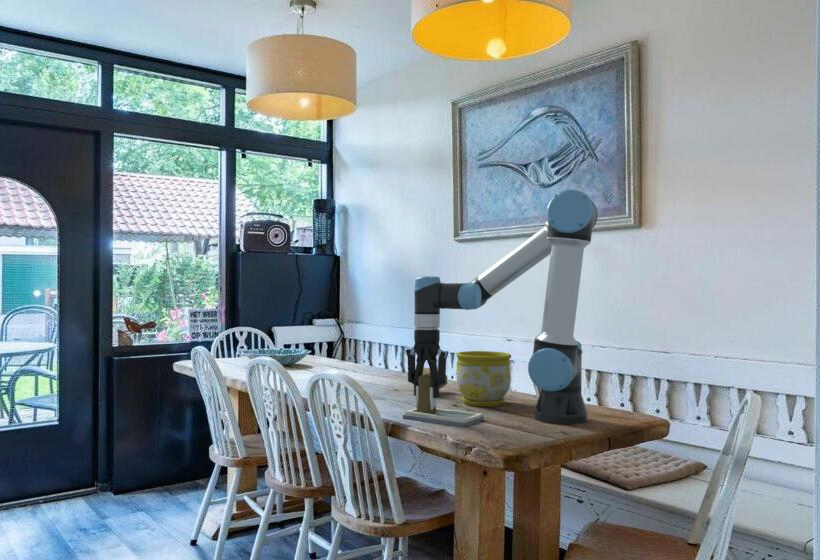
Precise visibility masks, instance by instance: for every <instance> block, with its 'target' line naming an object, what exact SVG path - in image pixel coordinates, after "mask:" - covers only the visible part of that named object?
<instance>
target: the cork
mask: <svg viewBox="0 0 820 560" xmlns="http://www.w3.org/2000/svg"><path fill="white" fill-rule="evenodd" d="M418 384H419V386H420V388H419V395H418V402H417V409H416V412H420V413H428V414H435V413H436V408H435V406H434V408H433V410H431V404H430V387H431V386H432V381H431V375H428V374H425V375H420V376H419V378H418Z"/></svg>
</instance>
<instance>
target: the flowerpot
mask: <svg viewBox="0 0 820 560" xmlns="http://www.w3.org/2000/svg"><path fill="white" fill-rule="evenodd" d="M456 357H457V358H458V359H457V368H456V385H457V387H458V390H459V392H460V394H461V395H462V397H461V400H462V401H463V402H464V404H466V405H469V406H474V407H483V408H485V407H498V406H501V405H503V403H504V402H505V401H506V399H505V398H504V397H505V396H506V395H507V393H508V391H510V390H509V389H510V386H511V380H512V379H511V378H512V376H511V368H510V364H511V362H510V359H511V358H512V354H511V353H509V352H504V351H503V352H502V351H493V350H492V351H489V350H487V351H486V350H471V351H470V350H469V351H468V350H467V351H458V352H457V353H456Z"/></svg>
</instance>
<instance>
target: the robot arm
mask: <svg viewBox="0 0 820 560" xmlns="http://www.w3.org/2000/svg"><path fill="white" fill-rule="evenodd" d="M546 217H547V220H546V221H545V224H544V227H542V228H540V229H539V230H538V231H537V232H535V233H533V235H531V236H530V237H529V238H527V239H526V240H525V241H523V242H522V243H520V244H519V245H518V246H517V247H516V248H514V249H512V250H511V251H510V252H508V253H507V254H506V255H505V256H503V257H502V258H500V259H499V260H498V261H496V262H495V263H494V264H493V265H491V266H490V267H489V268H487V269H485V271H483V272H482V273H479V275H478V276H477V277H475V278H474V279H472V280H471V281H470V282H465V283H463V282H461V283H457V282H456V283H454V282H453V283H452V282H451V283H446V282H444V283H443V282H442V281H441V278H440V277H439V276H422V275H421V276H417V277H416V278H415V280H414V290H413V293H414V319H413V320H414V321H413V322H414V323H413V327H414V328H415V329H414V330H413V333H414V334H413V337H414V338H413V340H414V345H413V347H412V348H411V347H410V348H408V349H406V350H405V354H406V357H407V382H408V383H411V384H412V385H413V395H414V397H415V408H417V402H418V395H419V388H420V386H419V384H418V378H419V376H420V375H422V374H423V369H424V366H425V363H426V362H427V364H428V368H429V369H430V375H431V381H432V386H431V387H430V404H431V410H433V408H434V406H435V408H436V409H438V407H437V404H438V403H437V402H438V401H437V399H438V398H439V397H440V389H439V387H440V386H441V385H444V384H445V379H446V375H447V373H446V372H447V358H448V356H449V351H447V350H446V351H444V350H443V349H442V348H441V347H440V342H441V341H440V340H441V339H440V338H441V337H440V335H441V334H440V333H441V331H440V329H439V328H440V326H441V325H440V324H441V323H440V320H441V318H440V317H441V316H440V315H441V309H442V310H443V309H444V310H445V309H446V310H447V309H448V310H465V311H469V310H477V309H478V308H479V309H480V308H481V307H482V306H484V305H485V304H486V303H487V302H488V301H489V299H491V298H492V297H494V295H496V294H497V293H499V292H500V291H501V290H503V289H504V288H506V287H507V286H509V285H511V283H513V282H514V281H515V280H516V279H518V278H519V277H521V276H523V274H525V273H526V272H528V271H529V270H531V269H532V268H533V267H534V266H536V265H537V264H539V263H541V261H543V260H544V259H545V258H547V257H549V256H550V257H549V266H548V273H547V279H546V280H547V281H546V290H545V299H544V305H543V314H542V322H541V323H542V324H541V331H540V333H539V334H537V335H536V336H535V337H534V343H533V350H532V355H531V356H530V358H529V361H528V365H527V368H528V369H527V371H528V375H529V379H530V380H531V382H532V383H533V384H534V385H535V386H536V387H537V388H539V389H540V392H539V395H538V399H537V401H536V404H535V408H534V410H533V413H534V416H533V417H534V419H535V420H537V421H540V422H543V423H550V424H559V425H560V424H561V425H574V424H575V425H576V424H577V425H579V424H583V423H586V422H588V410H587V407H586V404H585V401H584V398H583V394H582V362H583V361H582V355H583V349H582V343H581V342H580V341H579V340H578V341H577V340H576V338H575V337H574V335H575V334H574V333H575V326H576V325H575V324H576V319H577V318H576V316H577V309H578V307H577V306H578V301H579V292H580V284H581V276H582V268H583V259H584V251H585V248H586V247H588V246H589V245H590V244H591V242H592V236H593V235H592V233H593V229H594V228H595V226H596V225H597V221H598V209H597V206H596V204H595V203H594V202H593V201H592V199H591V198H590V196H589V195H588V194H586V193H585V192H583V191H580V190H577V189H565V190H561V191H559V192H557V193H556V194H555V195H554V196H553V197H552V198H551V199H550V200H549V203H547V208H546ZM437 356H438V359H437ZM437 363H438V364H437Z"/></svg>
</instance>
